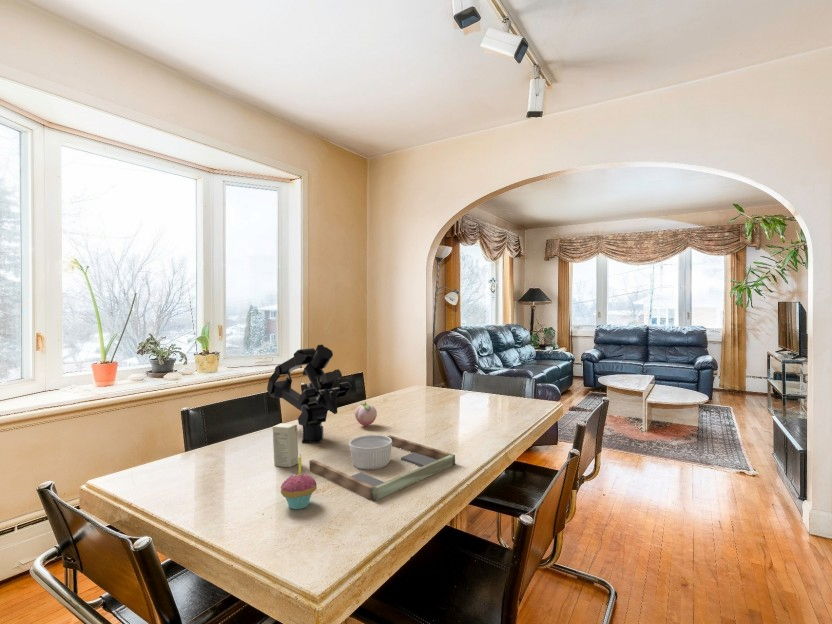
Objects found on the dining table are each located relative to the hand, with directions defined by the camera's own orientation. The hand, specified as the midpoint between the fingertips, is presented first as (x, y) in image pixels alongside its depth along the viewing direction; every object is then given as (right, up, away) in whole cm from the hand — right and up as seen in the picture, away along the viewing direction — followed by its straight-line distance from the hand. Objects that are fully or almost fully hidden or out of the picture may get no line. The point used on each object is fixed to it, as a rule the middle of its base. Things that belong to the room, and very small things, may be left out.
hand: (336, 413), depth 143 cm
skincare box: (-13, -13, -13) cm, 22 cm away
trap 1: (+13, -13, -27) cm, 33 cm away
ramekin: (+13, -13, -12) cm, 22 cm away
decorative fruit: (+7, -12, +27) cm, 30 cm away
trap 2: (+28, -12, -11) cm, 33 cm away
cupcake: (-2, -13, -39) cm, 42 cm away
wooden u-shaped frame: (+17, -12, -16) cm, 27 cm away
